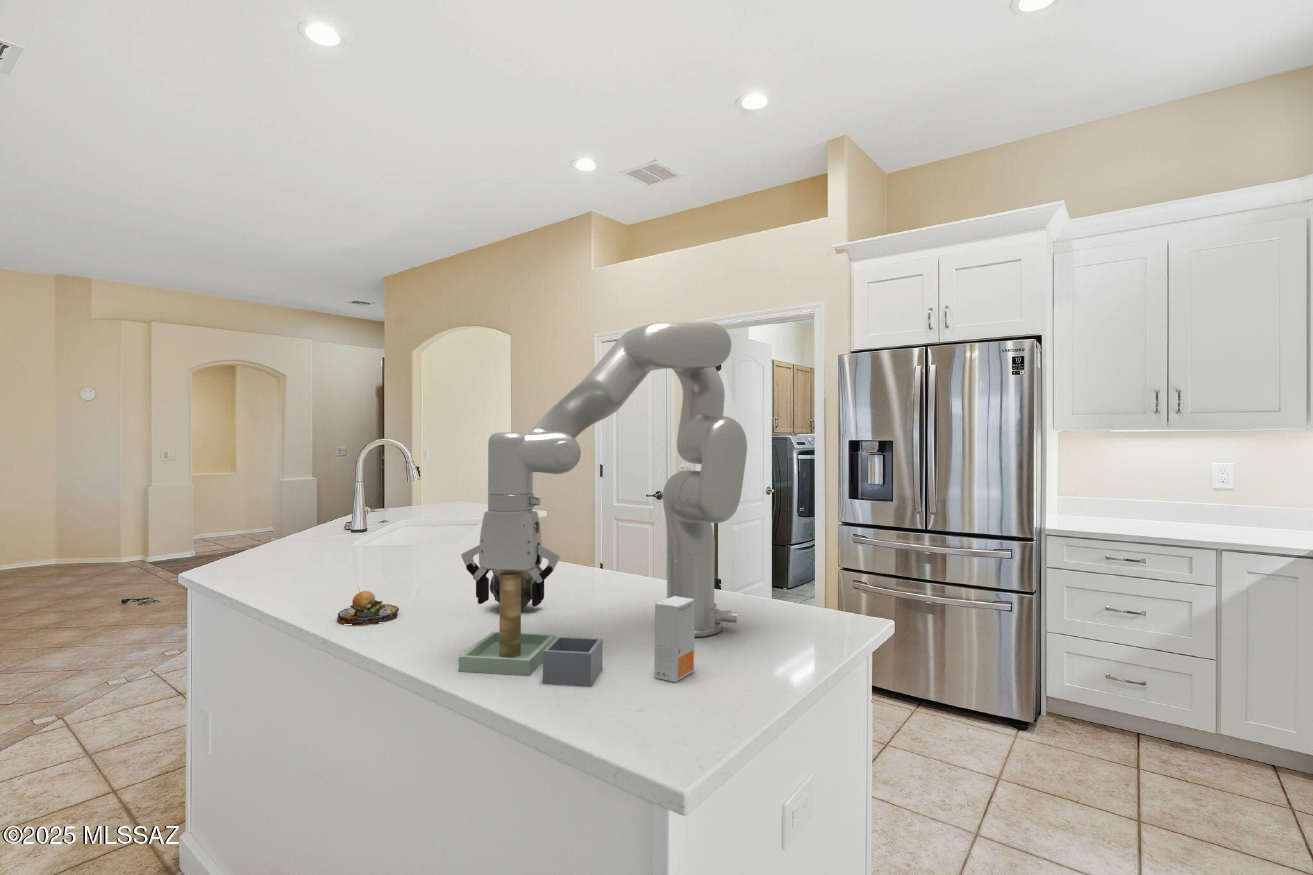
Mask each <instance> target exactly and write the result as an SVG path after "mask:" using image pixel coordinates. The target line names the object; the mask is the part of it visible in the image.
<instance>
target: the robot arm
mask: <svg viewBox="0 0 1313 875" xmlns="http://www.w3.org/2000/svg"><path fill="white" fill-rule="evenodd" d="M731 351H732V340H731V336H730V334H729V332H728V331H727V330H726V329H725V328H724V327H723V326H722V325H720V324H718V323H717V322H716V323H715V322H713V321H712V322H711V321H694V322H691V321H689V322H688V321H687V322H685V321H684V322H654V323H653V322H652V323H647V324H644V325H642V326H638V327H634V328H632V329H630V330H628V331H626V332H625V333H624V334H623V335H621V336H620V337H619V339H618V340H616V342H615V343H614V344H613V345H612V346H611V348H610V349H609V350H608V351H607V352H606V353H605V354H604V356H603V357H602V358H601V359H600V360H599V362H598V363H596V365H595V366H594V367H593V368H592V370H590V372H589V373H588V374H587V375H586V376H585V377H584V379H582V381H581V382H579V383H578V384H577V385H576V386H575V387H573V388H572V389H571V390H570V391H569V392H568V393H567V394H566V395H565V396H564V397H563V398H562V399H559V401H558V402H557V403H556V404H555V405H554V406H552V407H551V408H550V410H548V411H547V412H546V413H545V414H544V416H543V417H542V418H541V419H540V420H539V421H538V422H537V423H536V424H535V426H534V427H533V428H532V430H530V431H529V433H527V432H519V431H518V432H517V431H516V432H514V431H513V432H510V431H508V432H506V431H505V432H494V433H492V434H491V435H490V436H489V437H488V441H487V456H488V457H487V461H488V462H487V511H484V513H483V518H482V523H481V529H480V534H479V544H478V545H476V546H474V547H472V548H470V549H468V550H467V551H465V552H463V553H461V554H460V555H461V560H463V563H464V565H465V568H466V570H467V572H469V573H470V575H471V576H472V579H473V580H474V581H475V598H477V604H478V605H482V604H484V603H486V602H488V601H489V599H490V578H489V577H488V576H487V575H488V574H489V572H490V571H492V570H494V571H495V570H497V571H528V572H529V573H530V575H531V576H532V577H533V579H534V580H535V582H534V583H532V599H531V606H533V607H537V606H539V605H540V604H542V601H543V600H544V599H545V580H546V579H547V578H548V577H549V576H550V575H551V574H552V573H553V572H554V571H555V569H556V567H557V564H558V563H559V561H560V558H561V557H560V555H558V554H557V553H555V552H554V551H552V550H550V549H548V548H546V547H545V546H543V542H542V532H541V531H542V530H541V525H540V524H541V523H540V518H539V517H540V516H539V513H538V511H537V510H533V509H534V507H536V506H541V498H540V497H536V496H535V495H534V493H533V491H534V490H533V486H534V485H533V482H534V481H533V479H534V478H533V476H534V473H543V474H549V475H551V474H552V475H562V474H566V473H568V472H570V471H572V470H574V468H575V467H577V465H578V464H579V462H580V459H581V456H582V452H581V451H582V450H581V447H580V444H579V442H578V441H577V439H576V438H577V437H578V436H579V435H580V434H581V433H583V432H584V431H585V430H587V429H588V428H589V427H591V426H592V425H594V424H596V423H598V422H600V421H602V420H604V419H606V418H609V416H612V415H613V414H614V413H616V412H618V411H619V410H620V409H621V408H622V406H623V405H624V403H626V401H627V400H628V399H629V397H630V396H632V394H633V393H634V391H635V390H636V389H637V388H638V387H639V386H640V384H641V383H642V382H643V381H644V380H645V378H646V377H647V376H648V375H649V374H650V373H651V372H653V371H657V370H662V369H671V370H672V371H673V372H674V373H675V374H676V375H675V376H677V378H678V379H679V382H680V384H681V389H682V403H681V405H682V406H681V409H680V410H681V411H680V419H679V424H678V429H677V436H676V437H677V439H676V450H677V453H678V456H679V457H680V458H681V459H682V460H684V461H685V462H687V463H690V464H695V465H701V466H700V470H691V469H688V470H681V471H678V472H676V473H674V474H672V475H671V476H670V477H669V478H668V479H667V480H666V482H665V484H664V487H663V491H662V503H663V509H664V516H665V523H666V524H665V525H666V542H667V544H666V599H667V598H671V597H673V596H678V597H683V598H690V599H695V631H694V638H699V637H701V638H702V637H708V636H712V635H716V634H718V633H720V632H721V631H722V630H723V629H722V628H723V623H724V622H725V623H733V624H737V622H738V620H737V619H738V614H737V612H732V611H731V610H720V608H717V602H715V551H716V550H715V547H716V546H715V545H716V544H715V533H714V529H713V525H712V524H720V523H724V522H726V521H728V520H730V519H731V518H732V517H733V516H734V515H735V513H736V512H737V510H738V508H739V505H740V501H741V499H742V498H741V497H742V490H743V485H744V484H743V483H744V475H745V471H746V463H747V462H746V461H747V453H748V452H747V451H748V440H747V437H746V436H747V435H746V433H745V430H744V428H743V427H742V425H741V424H740V423H739V422H738V421H737V420H736V419H734V418H732V417H729V416H724V409H725V400H726V399H725V398H726V396H725V393H726V392H725V387H724V383H723V380H722V377H721V376H720V374H719V371H718V370H717V369H716V367H718V366H720V365H722V364H723V363H724V362H725V361H726V360H727V359H728V358H729V357H730V354H731ZM476 555H478V564H479V565H478V564H477V563H476V562H475V560H474V556H476ZM543 558H545V559H547V561H548V562H547V565H546V567H545V568H542V567H541V564H543Z"/></svg>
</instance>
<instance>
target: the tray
mask: <svg viewBox="0 0 1313 875" xmlns="http://www.w3.org/2000/svg"><path fill="white" fill-rule="evenodd" d="M556 637H557V634H548V633H528V632H527V633H525V632H521V655H519V656H517V657H513V658H505V657H500V656H499V631H492V632H490V633H489V634H488V635H485V637H484V638H482V639H481V640H479V641H478V642H476V643H475V644H474V645H473V646H471V647H470V648H468V649H467V650H465V652H463V653H461V654H460V655H459V656H458V672H463V673H477V674H478V673H481V674H482V673H483V674H496V675H497V674H498V675H515V676H531V675H532V674H533V673H534V671H536V669H538V667H539V666H540V665H541V664H543V650H544V649H545V648H546V647H547V646H548V645H549V644H550V643H551V642H552V641H553V640H554V639H555V638H556Z"/></svg>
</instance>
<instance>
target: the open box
mask: <svg viewBox="0 0 1313 875" xmlns="http://www.w3.org/2000/svg"><path fill="white" fill-rule="evenodd" d="M603 643H604V642H603V638H598V637H580V636H578V637H576V636H560V635H559V636H557V635H556V638H555V639H554V640H553V641H552V642H551V643H550V644H549V645H548V646H547V647H546V648H545V649H544V650H543V662H542V684H547V685H549V684H550V685H562V686H563V685H564V686H565V685H566V686H580V687H592V686H593V684H594V682H595V681H596V680H597V678H598V676H599V675H600V673H601V671H602V670H603V664H604V663H603V659H604V658H603V645H604V644H603Z"/></svg>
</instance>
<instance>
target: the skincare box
mask: <svg viewBox="0 0 1313 875" xmlns="http://www.w3.org/2000/svg"><path fill="white" fill-rule="evenodd" d="M654 612H655V613H654V661H653V662H654V663H653V664H654V670H653V671H654V673H653V674H654V675H653V676H654V678H655V679H659V680H664V681H667V682H672V683H678V682H679V681H680V680H682V679H683V678H685V677H687V676H689V675H690V674H692V673H694V672H695V637H694V631H695V599H690V598H683V597H678V596H673V597H671V598H667V597H666V598H665V599H663V600H661V601H658V602H655V606H654Z"/></svg>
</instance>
